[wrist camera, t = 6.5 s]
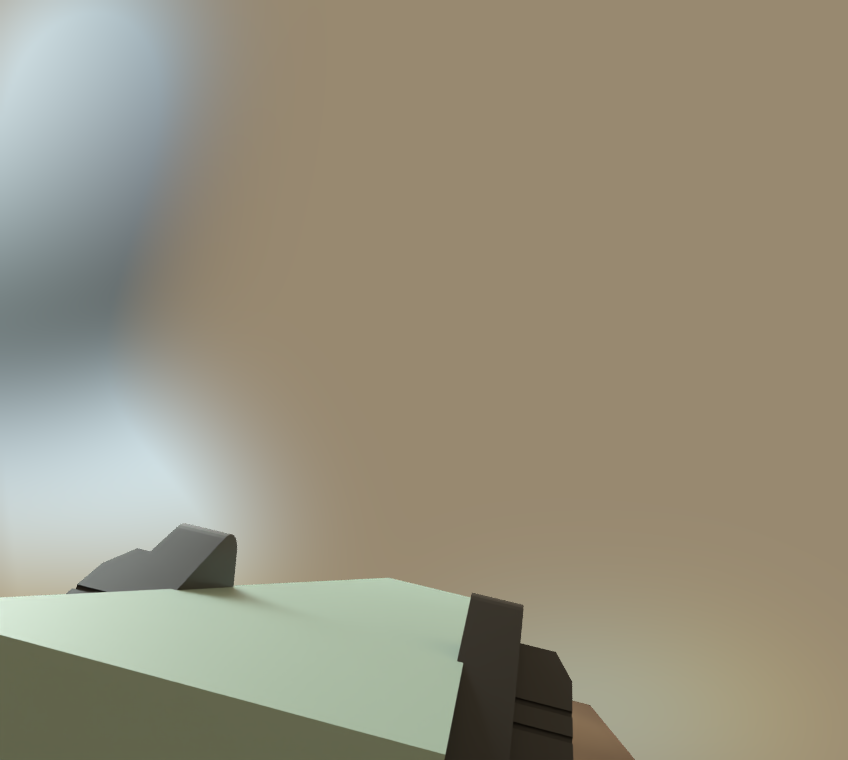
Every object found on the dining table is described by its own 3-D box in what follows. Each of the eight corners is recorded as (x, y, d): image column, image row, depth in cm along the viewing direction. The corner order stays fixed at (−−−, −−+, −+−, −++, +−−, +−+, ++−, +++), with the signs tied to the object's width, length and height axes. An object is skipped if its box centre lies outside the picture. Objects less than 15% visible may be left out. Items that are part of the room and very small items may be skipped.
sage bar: (-341, 1192, 4) (-116, 603, 5) (370, 656, 29) (389, 577, 30) (302, 1443, 3) (445, 754, 4) (459, 679, 29) (475, 598, 29)
